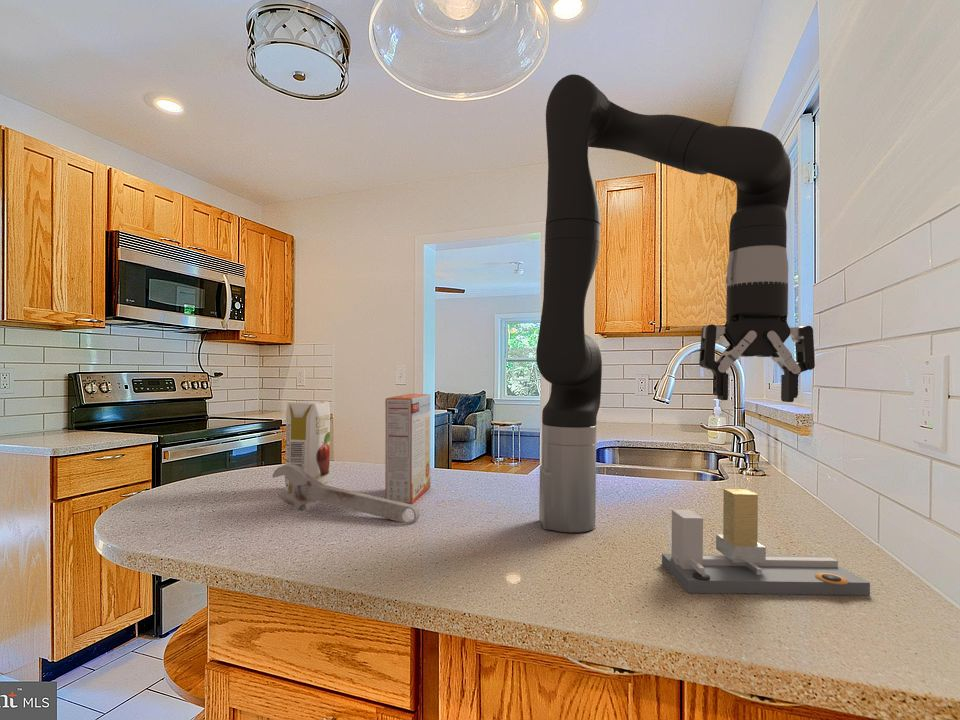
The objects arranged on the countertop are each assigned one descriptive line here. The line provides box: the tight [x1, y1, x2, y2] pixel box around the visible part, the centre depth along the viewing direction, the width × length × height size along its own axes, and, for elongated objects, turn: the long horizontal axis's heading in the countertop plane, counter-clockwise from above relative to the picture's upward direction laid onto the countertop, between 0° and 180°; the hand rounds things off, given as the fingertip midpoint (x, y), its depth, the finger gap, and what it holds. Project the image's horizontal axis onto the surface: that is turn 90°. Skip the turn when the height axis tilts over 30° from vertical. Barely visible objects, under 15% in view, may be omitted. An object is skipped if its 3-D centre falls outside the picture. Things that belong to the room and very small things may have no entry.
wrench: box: [272, 464, 421, 524], centre depth 94 cm, size 8×2×30 cm
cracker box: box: [384, 393, 431, 505], centre depth 108 cm, size 14×6×21 cm, turn 170°
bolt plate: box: [661, 509, 871, 596], centre depth 67 cm, size 22×10×8 cm, turn 90°
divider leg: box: [715, 488, 767, 575], centre depth 67 cm, size 4×7×9 cm, turn 0°
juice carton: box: [284, 400, 331, 491], centre depth 111 cm, size 8×9×19 cm
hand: (754, 400), depth 72 cm, fingers open, 8 cm apart
